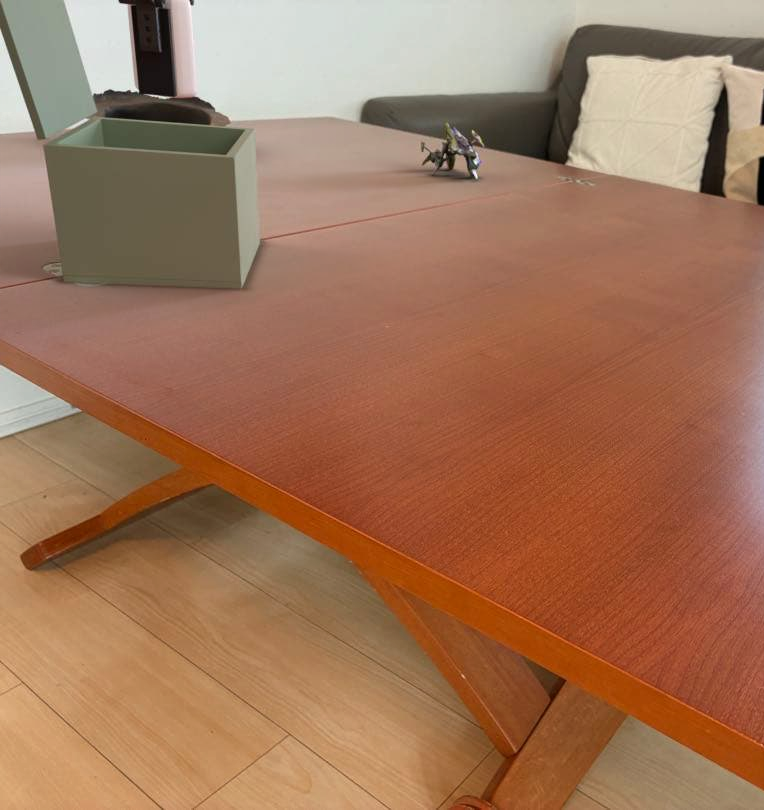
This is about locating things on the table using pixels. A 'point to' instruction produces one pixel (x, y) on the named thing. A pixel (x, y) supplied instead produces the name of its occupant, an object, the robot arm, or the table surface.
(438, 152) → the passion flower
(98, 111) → the stone bowl
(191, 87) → the eye dropper bottle
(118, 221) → the chest
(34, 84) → the chest lid
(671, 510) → the table surface
